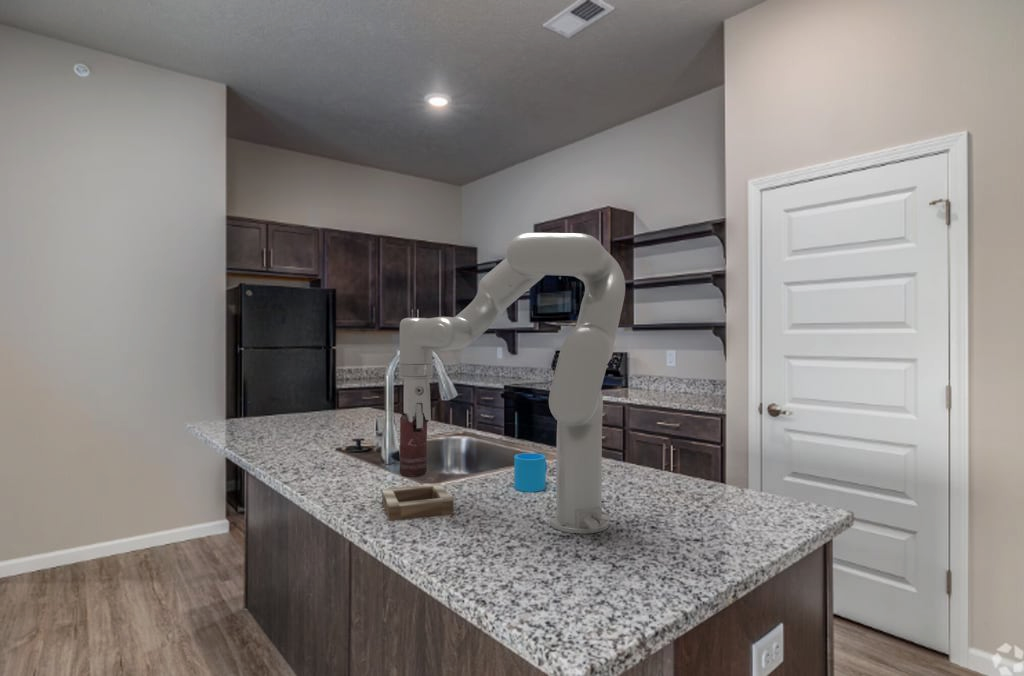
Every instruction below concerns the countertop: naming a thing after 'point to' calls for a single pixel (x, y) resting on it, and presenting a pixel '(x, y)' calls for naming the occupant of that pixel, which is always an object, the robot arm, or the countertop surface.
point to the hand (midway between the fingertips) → (415, 451)
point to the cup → (412, 448)
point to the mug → (530, 472)
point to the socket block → (416, 502)
